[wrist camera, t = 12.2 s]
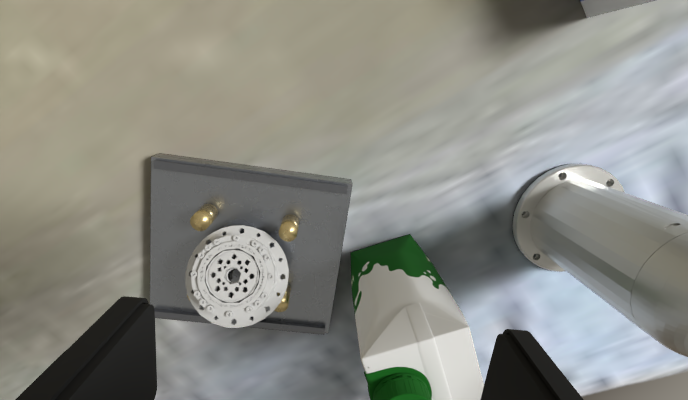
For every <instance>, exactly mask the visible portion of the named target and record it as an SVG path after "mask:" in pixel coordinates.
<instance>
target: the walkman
mask: <svg viewBox="0 0 688 400" xmlns="http://www.w3.org/2000/svg"><path fill="white" fill-rule="evenodd" d="M652 1H655V0H580V2H581V4H582V7H583V9H584V12H585V14H586V17H587V18H589V17H593V16H597V15H601V14H604V13H608V12H612V11H616V10H620V9H624V8H628V7H632V6H636V5H640V4H644V3H648V2H652Z"/></svg>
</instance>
